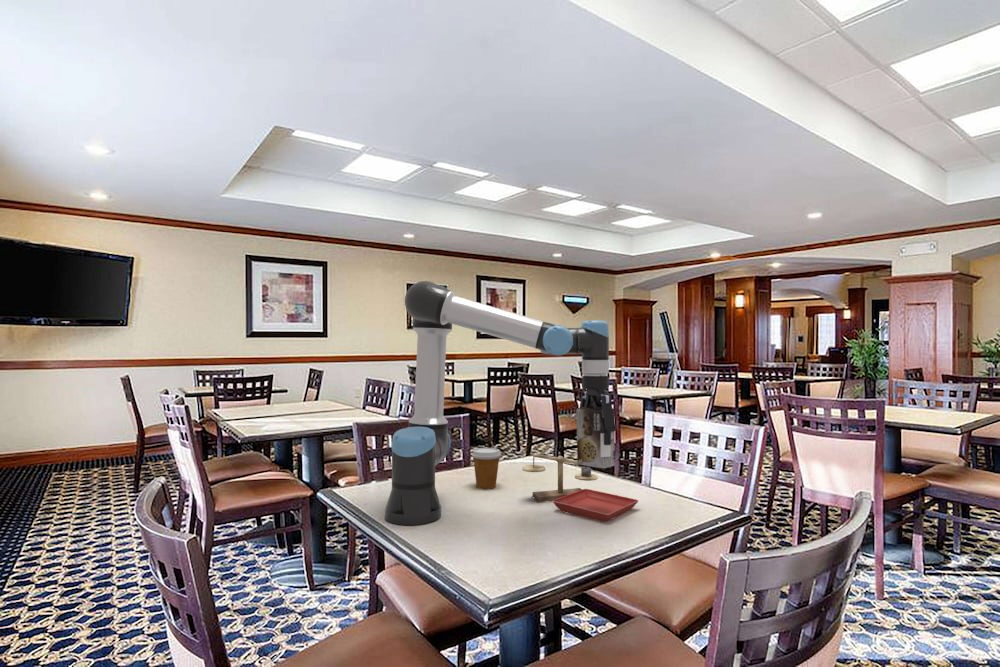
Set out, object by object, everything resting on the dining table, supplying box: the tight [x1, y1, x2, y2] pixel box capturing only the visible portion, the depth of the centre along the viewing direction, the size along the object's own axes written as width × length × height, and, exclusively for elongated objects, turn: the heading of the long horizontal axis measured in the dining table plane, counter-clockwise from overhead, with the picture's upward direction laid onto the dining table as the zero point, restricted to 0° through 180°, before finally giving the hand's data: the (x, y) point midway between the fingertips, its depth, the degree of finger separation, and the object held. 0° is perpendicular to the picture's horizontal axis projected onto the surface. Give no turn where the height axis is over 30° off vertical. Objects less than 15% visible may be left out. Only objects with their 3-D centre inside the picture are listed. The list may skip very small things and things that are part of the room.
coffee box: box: [576, 407, 616, 469], centre depth 155 cm, size 9×6×16 cm
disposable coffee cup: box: [471, 447, 502, 490], centre depth 180 cm, size 10×10×12 cm
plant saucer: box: [552, 488, 639, 523], centre depth 155 cm, size 18×18×3 cm
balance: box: [521, 453, 598, 503], centre depth 168 cm, size 25×7×14 cm, turn 108°
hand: (595, 452), depth 155 cm, fingers closed on coffee box, 11 cm apart
